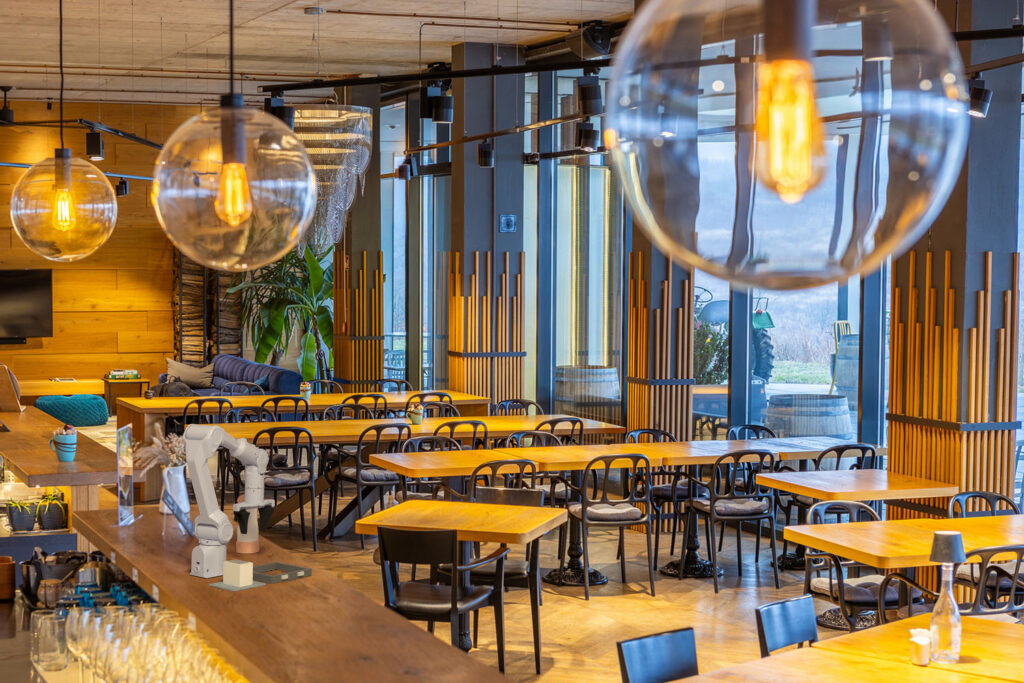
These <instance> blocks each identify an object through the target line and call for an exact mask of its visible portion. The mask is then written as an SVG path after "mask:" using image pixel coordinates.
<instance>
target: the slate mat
mask: <svg viewBox="0 0 1024 683" xmlns="http://www.w3.org/2000/svg"><path fill="white" fill-rule="evenodd" d="M266 585H267V583H265V582H261V581H256V580H253V583H252V585H247V586H243V587H237V586H232V585H228V584H223V580H222V581H219V582H217V581H216V582H214V583H208V586H209V587H212V588H218V589H222V590H226V591H231V592H238V591H243V590H248V589H254V588H259V587H264V586H266Z"/></svg>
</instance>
